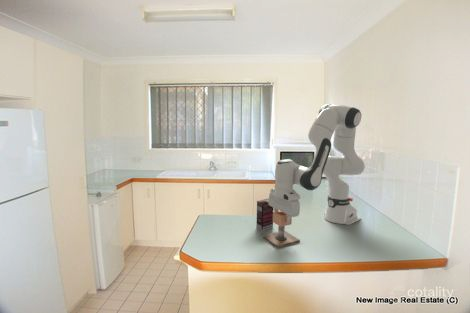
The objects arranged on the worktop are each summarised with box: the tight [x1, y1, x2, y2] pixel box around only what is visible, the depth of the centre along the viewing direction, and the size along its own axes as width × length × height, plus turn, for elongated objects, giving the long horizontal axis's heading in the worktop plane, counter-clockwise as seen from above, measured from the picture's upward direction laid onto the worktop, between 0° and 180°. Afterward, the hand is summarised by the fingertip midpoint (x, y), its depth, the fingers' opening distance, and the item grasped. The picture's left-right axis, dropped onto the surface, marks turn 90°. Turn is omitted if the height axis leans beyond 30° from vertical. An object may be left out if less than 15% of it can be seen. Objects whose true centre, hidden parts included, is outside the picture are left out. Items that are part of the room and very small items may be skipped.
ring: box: [273, 210, 293, 227], centre depth 134 cm, size 7×7×5 cm
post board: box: [262, 225, 301, 249], centre depth 135 cm, size 14×12×10 cm
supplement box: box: [256, 198, 274, 232], centre depth 149 cm, size 9×5×16 cm, turn 126°
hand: (282, 219), depth 134 cm, fingers closed on ring, 7 cm apart
